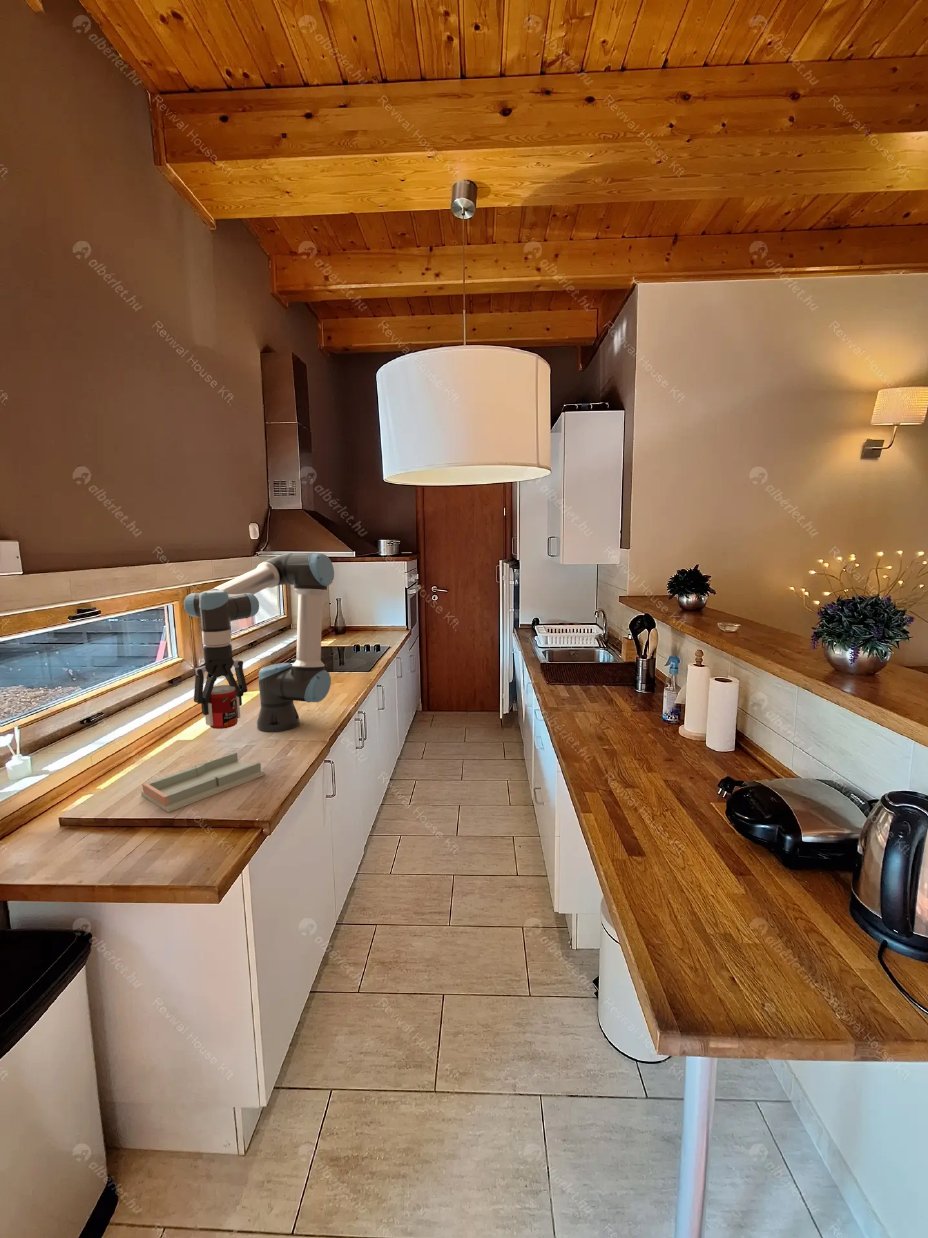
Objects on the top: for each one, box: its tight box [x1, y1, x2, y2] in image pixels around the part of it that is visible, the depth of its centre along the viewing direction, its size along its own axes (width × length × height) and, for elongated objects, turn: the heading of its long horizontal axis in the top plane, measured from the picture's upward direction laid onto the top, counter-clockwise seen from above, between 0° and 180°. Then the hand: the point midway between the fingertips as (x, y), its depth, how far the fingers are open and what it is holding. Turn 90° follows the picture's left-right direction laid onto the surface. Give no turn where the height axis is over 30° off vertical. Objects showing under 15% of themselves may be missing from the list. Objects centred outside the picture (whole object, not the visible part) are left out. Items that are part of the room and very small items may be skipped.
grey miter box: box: [140, 751, 266, 813], centre depth 158 cm, size 28×16×4 cm, turn 142°
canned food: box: [209, 684, 239, 730], centre depth 161 cm, size 8×8×11 cm
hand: (223, 720), depth 161 cm, fingers closed on canned food, 8 cm apart
